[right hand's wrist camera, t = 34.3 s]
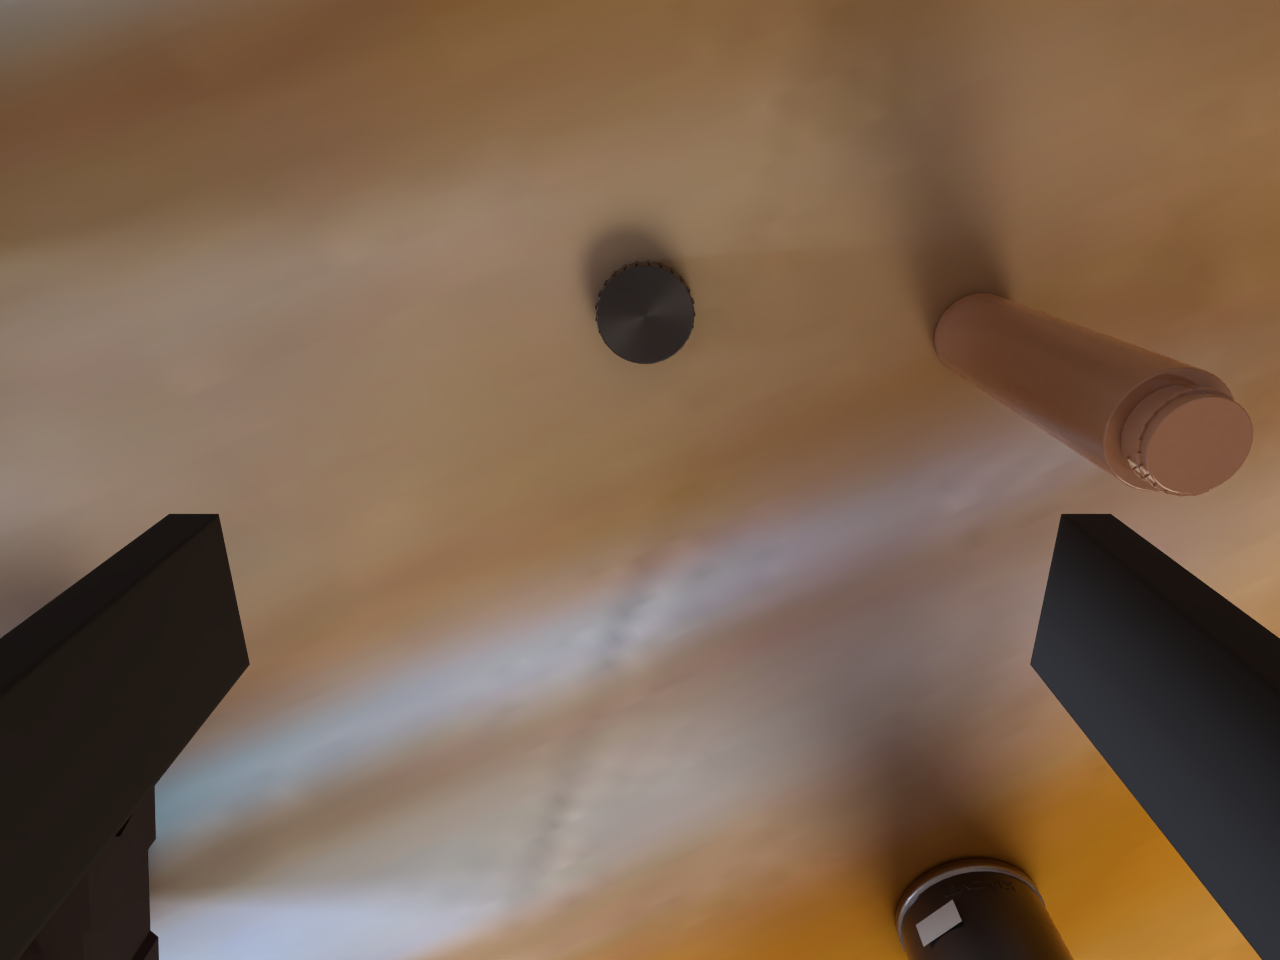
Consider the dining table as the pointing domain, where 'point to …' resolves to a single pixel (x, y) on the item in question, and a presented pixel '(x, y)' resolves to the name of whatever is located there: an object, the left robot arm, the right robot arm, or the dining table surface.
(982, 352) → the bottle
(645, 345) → the lid
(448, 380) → the dining table surface
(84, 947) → the mechanical component
